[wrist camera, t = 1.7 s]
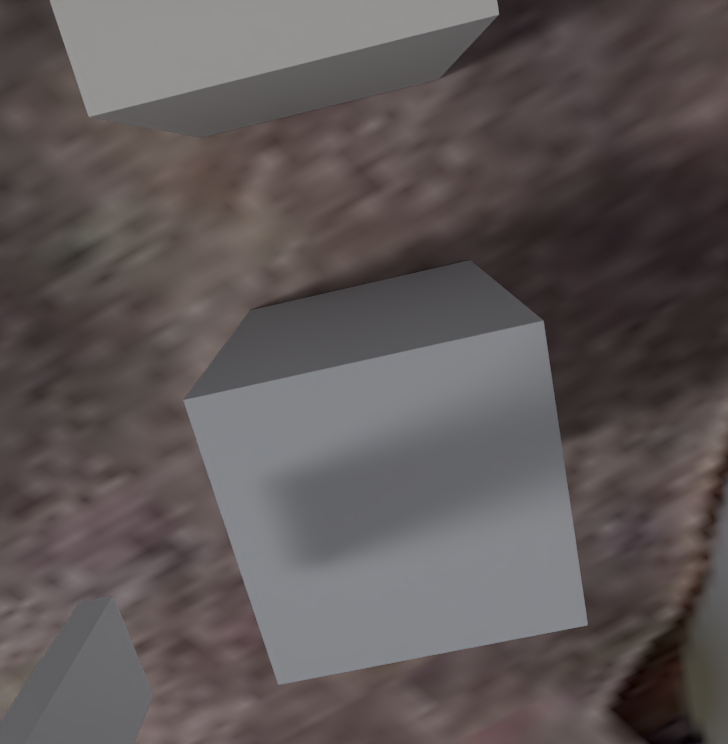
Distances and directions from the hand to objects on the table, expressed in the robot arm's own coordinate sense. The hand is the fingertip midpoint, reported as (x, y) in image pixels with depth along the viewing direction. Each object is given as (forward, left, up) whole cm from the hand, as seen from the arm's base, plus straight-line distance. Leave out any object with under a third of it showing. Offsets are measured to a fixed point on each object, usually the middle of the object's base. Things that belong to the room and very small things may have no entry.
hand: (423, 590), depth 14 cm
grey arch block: (0, 0, -13) cm, 13 cm away
